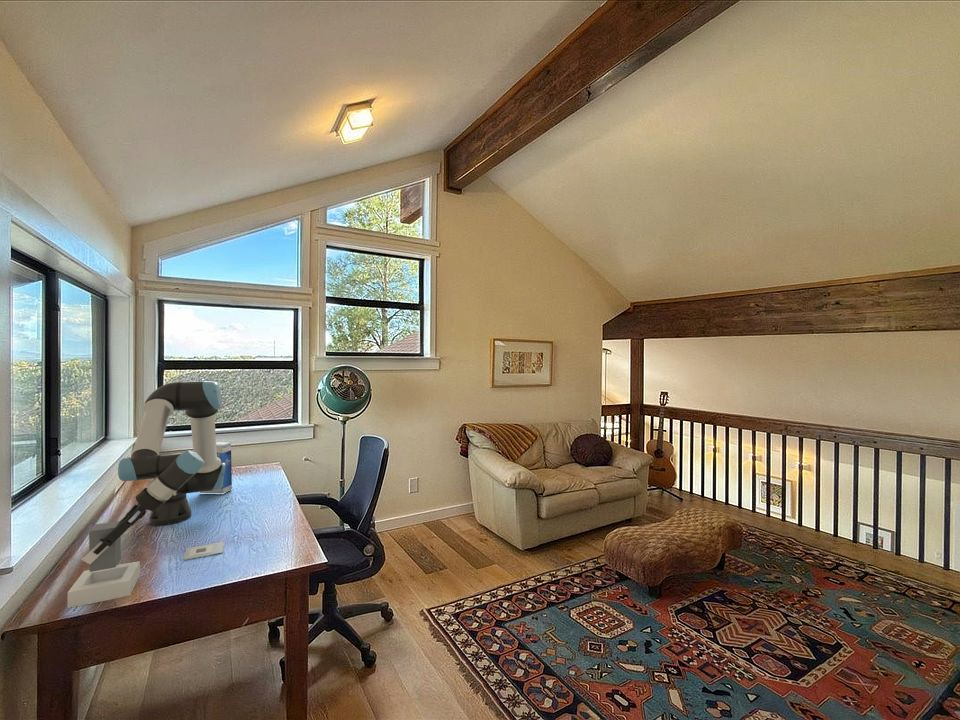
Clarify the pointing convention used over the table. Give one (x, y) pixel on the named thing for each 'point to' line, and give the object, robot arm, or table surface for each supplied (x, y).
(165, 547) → the table surface
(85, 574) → the socket base
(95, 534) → the charcoal pillar
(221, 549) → the card
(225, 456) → the string lights box
